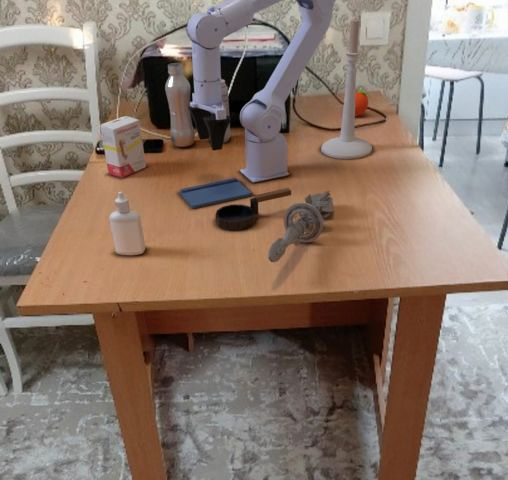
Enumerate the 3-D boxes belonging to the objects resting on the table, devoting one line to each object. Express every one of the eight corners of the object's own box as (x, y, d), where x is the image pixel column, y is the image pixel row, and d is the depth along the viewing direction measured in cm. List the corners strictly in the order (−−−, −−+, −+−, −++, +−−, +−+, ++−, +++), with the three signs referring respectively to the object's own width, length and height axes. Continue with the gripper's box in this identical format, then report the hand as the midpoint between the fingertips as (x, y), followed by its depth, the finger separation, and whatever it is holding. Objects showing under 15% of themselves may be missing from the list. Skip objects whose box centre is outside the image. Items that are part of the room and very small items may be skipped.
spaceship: (241, 241, 99) (283, 231, 95) (306, 182, 126) (340, 172, 122) (257, 284, 102) (298, 275, 98) (317, 217, 129) (351, 208, 125)
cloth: (236, 181, 138) (235, 177, 138) (251, 195, 132) (251, 191, 131) (179, 193, 134) (179, 188, 134) (192, 208, 128) (192, 204, 127)
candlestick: (331, 138, 159) (338, 11, 140) (378, 144, 154) (391, 14, 135) (313, 154, 150) (318, 21, 131) (362, 161, 145) (373, 24, 127)
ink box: (121, 178, 142) (112, 128, 134) (108, 174, 144) (98, 125, 137) (147, 167, 147) (140, 118, 140) (133, 163, 150) (125, 115, 142)
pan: (225, 233, 118) (223, 212, 115) (210, 217, 124) (209, 197, 121) (298, 216, 123) (298, 196, 120) (281, 202, 129) (281, 182, 126)
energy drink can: (229, 135, 163) (226, 77, 154) (231, 142, 159) (228, 83, 149) (207, 137, 163) (203, 79, 153) (209, 144, 158) (204, 85, 149)
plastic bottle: (167, 148, 157) (156, 67, 144) (178, 139, 162) (170, 60, 149) (188, 151, 155) (180, 68, 142) (200, 142, 160) (192, 62, 147)
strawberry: (373, 113, 174) (375, 87, 170) (368, 120, 169) (370, 94, 165) (346, 111, 177) (348, 85, 172) (340, 118, 172) (342, 92, 167)
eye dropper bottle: (134, 260, 111) (123, 200, 104) (112, 252, 114) (100, 193, 106) (149, 250, 114) (139, 191, 107) (127, 243, 117) (116, 185, 109)
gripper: (177, 73, 127) (182, 137, 135) (202, 89, 117) (205, 157, 125) (208, 69, 129) (211, 132, 138) (234, 85, 119) (236, 152, 127)
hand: (210, 144), depth 132 cm, fingers open, 7 cm apart
